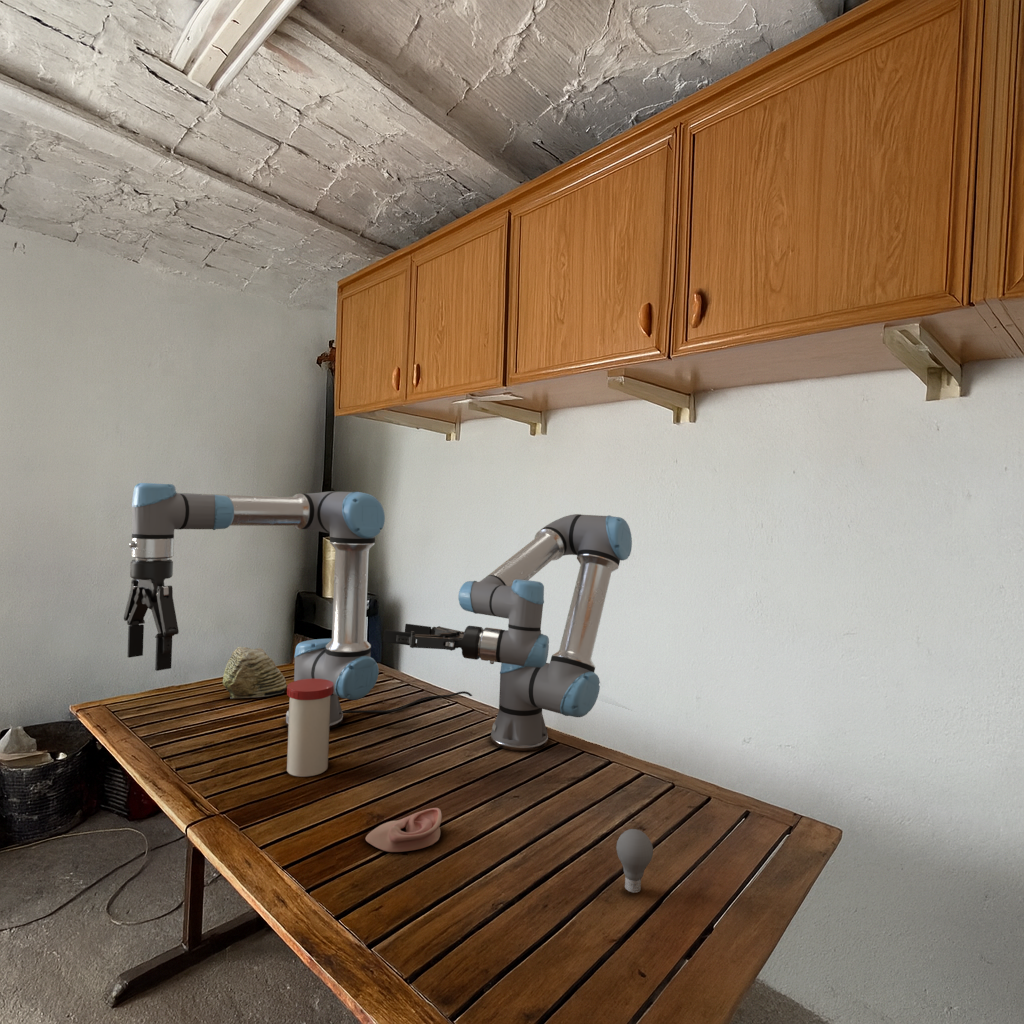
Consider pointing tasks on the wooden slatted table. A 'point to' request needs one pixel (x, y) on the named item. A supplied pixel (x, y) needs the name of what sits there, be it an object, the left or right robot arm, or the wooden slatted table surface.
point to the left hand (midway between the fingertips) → (148, 662)
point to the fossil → (252, 674)
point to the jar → (308, 736)
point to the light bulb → (634, 857)
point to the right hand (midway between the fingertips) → (395, 632)
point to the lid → (310, 689)
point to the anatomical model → (408, 832)
